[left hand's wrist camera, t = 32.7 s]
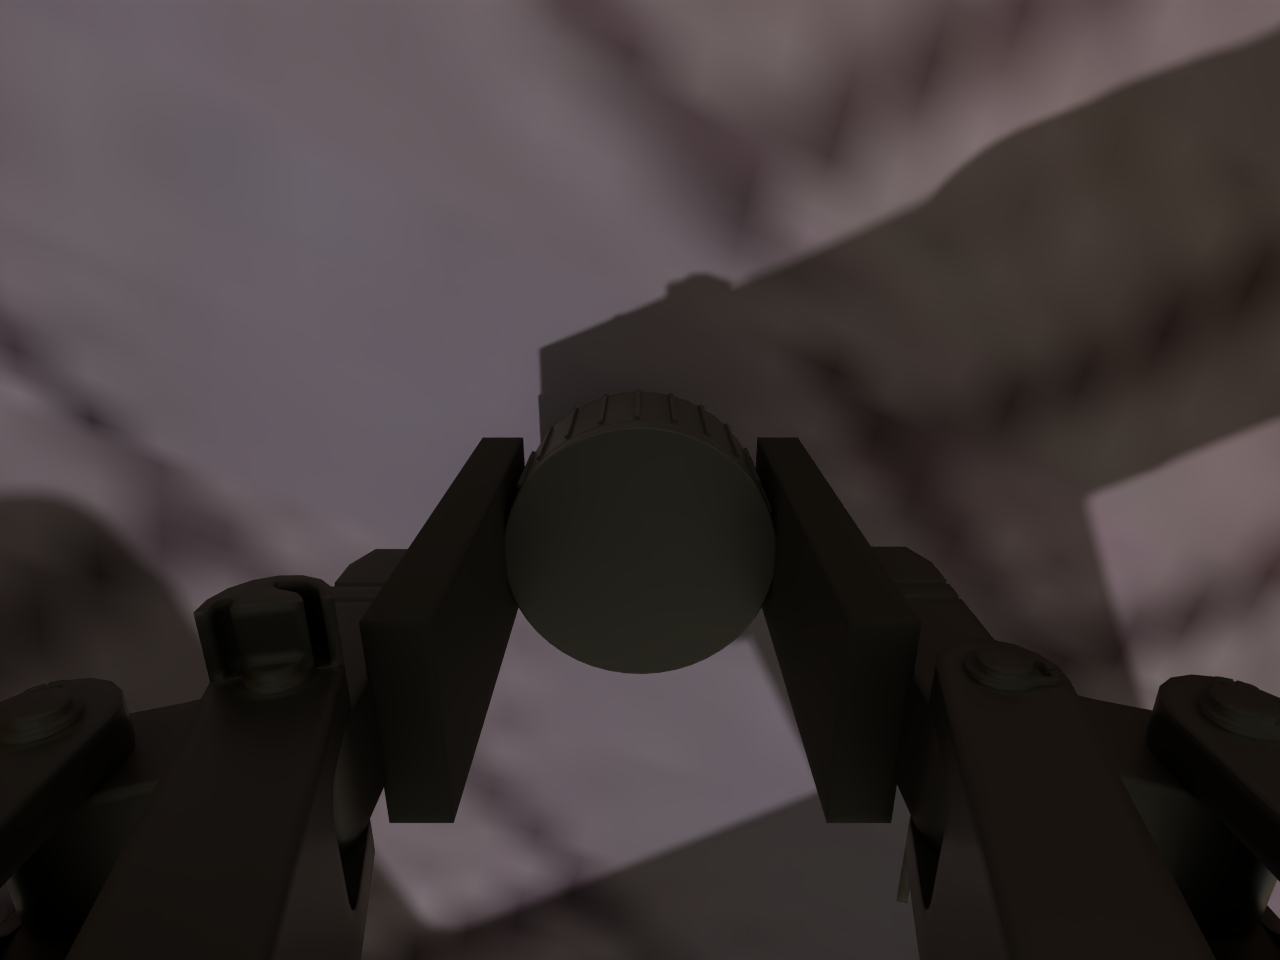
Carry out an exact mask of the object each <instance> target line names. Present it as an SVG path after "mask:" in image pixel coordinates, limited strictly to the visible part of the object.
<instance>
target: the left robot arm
mask: <svg viewBox="0 0 1280 960" xmlns="http://www.w3.org/2000/svg"><path fill="white" fill-rule="evenodd" d="M524 468H525V463H524V446H523V438H482V440H481V441H480V443H479V444H478V446H477V447H476V449H475V450H474V452H473V453H472V455H471V456H470V458H469V459H468V461H467V462H466V464H465V465H464V466H463V468H462V469H461V471H460V472H459V474H458V475H457V477H456V478H455V480H454V481H453V483H452V484H451V486H450V487H449V489H448V490H447V492H446V493H445V495H444V496H443V498H442V499H441V501H440V502H439V504H438V505H437V507H436V508H435V510H434V511H433V513H432V514H431V516H430V517H429V519H428V520H427V522H426V523H425V525H424V526H423V528H422V529H421V531H420V532H419V534H418V535H417V537H416V538H415V539H414V541H413V542H412V544H411V545H410V547H409V548H408V549H375V550H373V551H372V552H370V553H368V554H367V555H365V556H363V557H362V558H360V559H358V560H357V561H355V562H353V563H352V564H350V565H349V566H348V567H347V568H346V570H345V571H344V572H343V573H342V575H341V576H340V577H339V578H338V580H337V581H336V582H335V587H331V586H330V585H328V584H327V583H325V582H324V581H323V580H321V579H317V578H313V577H308V576H303V575H289V576H274V577H268V578H263V579H257V580H252V581H249V582H246V583H243V584H240V585H237V586H234V587H231V588H228V589H226V590H224V591H222V592H221V593H219V594H217V595H215V596H213V597H211V598H209V599H208V600H206V601H205V602H204V603H203V604H202V605H201V606H200V607H199V608H198V609H197V610H196V611H195V612H194V617H195V621H196V625H197V629H198V633H199V638H200V642H201V646H202V650H203V654H204V658H205V662H206V666H207V671H208V675H209V679H210V683H209V685H208V687H207V689H206V691H205V693H204V695H203V697H202V699H200V700H196V701H192V702H188V703H183V704H178V705H173V706H168V707H162V708H157V709H152V710H147V711H141V712H136V713H131V714H129V712H128V709H127V705H126V702H125V698H124V695H123V692H122V689H120V688H119V687H118V686H117V685H115V684H114V683H113V682H111V681H107V680H100V679H94V678H86V679H75V680H61V681H56V682H51V683H49V685H45V684H43V685H39V686H36V687H33V688H30V689H28V690H26V691H24V692H23V693H21V694H19V695H17V696H14V697H12V698H9V699H7V700H5V701H2V702H1V703H0V888H1V887H2V886H3V885H4V884H6V887H7V889H8V892H9V894H10V897H11V899H12V902H13V904H14V907H15V909H14V910H13V911H12V912H11V913H10V914H9V915H8V916H7V917H6V919H5V920H4V921H3V922H2V923H1V924H0V960H361V953H362V945H363V938H364V930H365V923H366V915H367V907H368V900H369V892H370V885H371V877H372V870H373V862H374V854H375V848H374V841H373V834H372V828H371V822H370V817H371V815H372V813H373V810H374V808H375V806H376V804H377V801H378V799H379V797H380V794H381V792H382V790H383V788H384V790H385V796H386V803H387V809H388V816H389V822H390V823H454V820H455V817H456V813H457V810H458V807H459V803H460V800H461V797H462V793H463V790H464V787H465V783H466V780H467V777H468V773H469V770H470V767H471V763H472V760H473V757H474V753H475V750H476V747H477V743H478V740H479V737H480V733H481V730H482V727H483V723H484V720H485V717H486V713H487V710H488V707H489V704H490V700H491V697H492V694H493V690H494V687H495V684H496V680H497V677H498V674H499V670H500V667H501V664H502V660H503V657H504V654H505V650H506V647H507V644H508V640H509V637H510V634H511V630H512V627H513V624H514V620H515V617H516V614H517V610H518V605H517V603H516V601H515V599H514V597H513V595H512V593H511V591H510V587H509V584H508V577H507V564H506V550H505V525H506V522H507V518H508V515H509V511H510V509H511V507H512V504H513V502H514V500H515V497H516V495H517V493H518V490H519V488H517V487H516V486H517V484H518V481H519V479H520V477H521V475H522V472H523V470H524ZM756 471H757V473H758V475H759V478H760V480H761V482H762V483H761V485H762V487H763V489H764V492H765V494H766V496H767V499H768V501H769V503H770V506H771V508H772V510H773V512H772V515H771V516H772V519H773V522H774V527H775V533H776V546H775V561H774V574H773V581H772V585H771V588H770V590H769V593H768V595H767V597H766V600H765V602H764V604H763V605H762V609H763V612H764V615H765V619H766V622H767V625H768V629H769V632H770V635H771V639H772V642H773V645H774V649H775V652H776V655H777V659H778V662H779V665H780V669H781V672H782V675H783V679H784V682H785V685H786V688H787V692H788V695H789V698H790V702H791V705H792V708H793V712H794V715H795V718H796V722H797V725H798V728H799V732H800V735H801V738H802V742H803V745H804V748H805V752H806V755H807V758H808V762H809V765H810V768H811V772H812V775H813V778H814V782H815V785H816V788H817V792H818V795H819V798H820V801H821V805H822V808H823V811H824V815H825V818H826V821H827V823H891V819H892V813H893V806H894V800H895V793H896V787H897V785H898V787H899V789H900V792H901V794H902V796H903V798H904V801H905V803H906V805H907V807H908V810H909V812H910V814H911V816H910V822H909V828H908V834H907V840H906V846H905V852H904V858H903V864H902V870H901V876H900V882H899V889H898V897H897V901H899V902H904V903H907V901H908V895H909V889H910V891H911V898H912V906H913V913H914V921H915V928H916V936H917V943H918V951H919V959H920V960H1280V919H1279V918H1278V917H1277V916H1276V914H1275V913H1274V912H1273V911H1272V910H1271V909H1270V908H1269V907H1268V906H1267V903H1268V901H1269V898H1270V896H1271V894H1272V891H1273V889H1274V886H1275V884H1276V881H1277V879H1278V880H1279V881H1280V698H1279V697H1276V696H1274V695H1271V694H1269V693H1267V692H1264V691H1262V690H1259V689H1258V688H1257V687H1255V686H1253V685H1251V684H1248V683H1244V682H1241V681H1238V680H1237V681H1236V682H1235V681H1233V679H1229V678H1224V677H1217V676H1216V677H1211V676H1201V675H1185V676H1178V677H1172V678H1170V679H1168V680H1167V681H1166V682H1165V683H1163V684H1162V685H1161V686H1160V687H1159V690H1158V694H1157V697H1156V701H1155V704H1154V707H1153V711H1152V710H1147V709H1142V708H1136V707H1131V706H1126V705H1120V704H1115V703H1110V702H1105V701H1099V700H1094V699H1090V698H1086V697H1082V696H1078V695H1077V693H1076V691H1075V690H1074V688H1073V686H1072V684H1071V682H1070V680H1069V679H1068V678H1067V677H1066V676H1065V675H1064V673H1063V672H1062V671H1061V670H1060V669H1059V668H1058V666H1056V665H1055V664H1053V663H1051V662H1050V661H1048V660H1047V659H1045V658H1044V657H1042V656H1041V655H1039V654H1037V653H1035V652H1032V651H1030V650H1027V649H1024V648H1022V647H1019V646H1017V645H1014V644H1010V643H1005V642H1000V641H995V640H994V639H993V637H992V636H991V635H990V634H989V632H988V631H987V630H986V629H985V628H984V626H983V625H982V624H981V623H980V621H979V620H978V619H977V618H976V616H975V615H974V614H973V613H972V612H971V610H970V609H969V608H968V607H967V605H966V604H965V603H964V602H963V600H962V599H959V598H958V594H957V593H956V592H955V591H954V589H953V588H952V587H951V586H950V584H946V580H945V578H944V577H943V576H942V575H941V573H940V572H939V571H938V570H937V568H936V567H935V566H934V565H933V563H932V562H930V561H929V560H927V559H925V558H923V557H922V556H920V555H918V554H917V553H915V552H913V551H912V550H910V549H908V548H907V547H871V546H870V545H869V543H868V542H867V540H866V539H865V537H864V536H863V534H862V533H861V531H860V530H859V528H858V527H857V525H856V524H855V522H854V521H853V519H852V518H851V516H850V515H849V513H848V512H847V510H846V509H845V507H844V506H843V504H842V503H841V501H840V500H839V498H838V497H837V495H836V494H835V492H834V491H833V489H832V488H831V487H830V485H829V484H828V482H827V481H826V479H825V478H824V476H823V475H822V473H821V472H820V470H819V469H818V467H817V466H816V464H815V463H814V461H813V460H812V458H811V457H810V455H809V454H808V452H807V451H806V449H805V448H804V446H803V445H802V443H801V442H800V440H799V439H798V438H757V455H756Z"/></svg>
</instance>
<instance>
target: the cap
mask: <svg viewBox="0 0 1280 960" xmlns="http://www.w3.org/2000/svg"><path fill="white" fill-rule="evenodd" d="M761 483H762V482H761V480H760V478H759V475H758V473H757V471H756V468H755V466H754V463H753V461H752V459H751V456H750V454H749V452H748V450H747V448H744V449H743V447H742V446H741V444H740V443H739V441H738V440H737V439H736V437H735V436H734V435H733V434H732V432H731V429H730V426H729V425H728V424H727V423H726V424H725V425H724V424H723V423H722V422H720V421H719V420H718V419H717V418H716V417H714V416H713V415H712V414H710V413H709V412H707V411H705V409H704V406H702V405H700V406H697V405H694V404H692V403H690V402H688V401H686V400H683V399H680V398H676V397H674V395H673V394H670V393H669V395H664V394H658V393H649V392H640V390H636V392H632V393H621V394H616V395H612V396H608V395H607V394H606V395H603V398H601V399H598V400H595V401H592V402H590V403H588V404H586V405H584V406H582V407H580V408H577V407H575V408H574V409H573V411H572V413H571V414H569V415H568V416H566V417H565V418H564V419H562V420H561V421H560V422H559V423H558V424H557V425H556V426H555V427H554V428H553V427H552V426H551V427H550V428H549V429H548V431H547V434H546V436H545V438H544V439H543V441H542V442H541V444H540V446H539V447H538V449H537V450H536V452H534V451H532V453H531V455H530V457H529V459H528V461H527V464H526V466H525V468H524V470H523V472H522V475H521V477H520V479H519V481H518V484H517V486H516V487H517V488H519V490H518V493H517V495H516V497H515V500H514V502H513V504H512V507H511V509H510V511H509V515H508V518H507V522H506V525H505V550H506V564H507V577H508V584H509V587H510V591H511V593H512V595H513V597H514V599H515V601H516V603H517V605H518V607H519V609H520V610H521V612H522V613H523V615H524V616H525V618H526V619H527V620H528V622H529V623H530V624H531V625H532V626H533V627H534V629H535V630H536V631H537V632H538V633H539V634H540V635H541V636H542V637H543V638H545V639H546V640H547V641H548V642H549V643H550V644H552V645H553V646H555V647H556V648H557V649H559V650H560V651H562V652H563V653H565V654H567V655H569V656H571V657H573V658H574V659H576V660H578V661H581V662H583V663H586V664H588V665H591V666H594V667H597V668H601V669H605V670H609V671H615V672H621V673H634V674H647V673H660V672H666V671H671V670H676V669H679V668H683V667H686V666H690V665H692V664H695V663H697V662H699V661H702V660H704V659H706V658H708V657H710V656H712V655H713V654H715V653H717V652H719V651H720V650H722V649H723V648H724V647H726V646H727V645H728V644H730V643H731V642H732V641H734V640H735V639H736V638H737V637H738V636H739V635H740V634H741V633H742V632H743V631H744V630H745V629H746V628H747V627H748V626H749V624H750V623H751V622H752V621H753V619H754V618H755V617H756V615H757V614H758V612H759V610H760V609H761V607H762V605H763V604H764V602H765V600H766V597H767V595H768V593H769V590H770V588H771V585H772V581H773V574H774V561H775V546H776V533H775V527H774V522H773V519H772V516H771V515H772V512H773V510H772V508H771V506H770V503H769V501H768V499H767V496H766V494H765V492H764V489H763V487H762V485H761Z"/></svg>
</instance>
